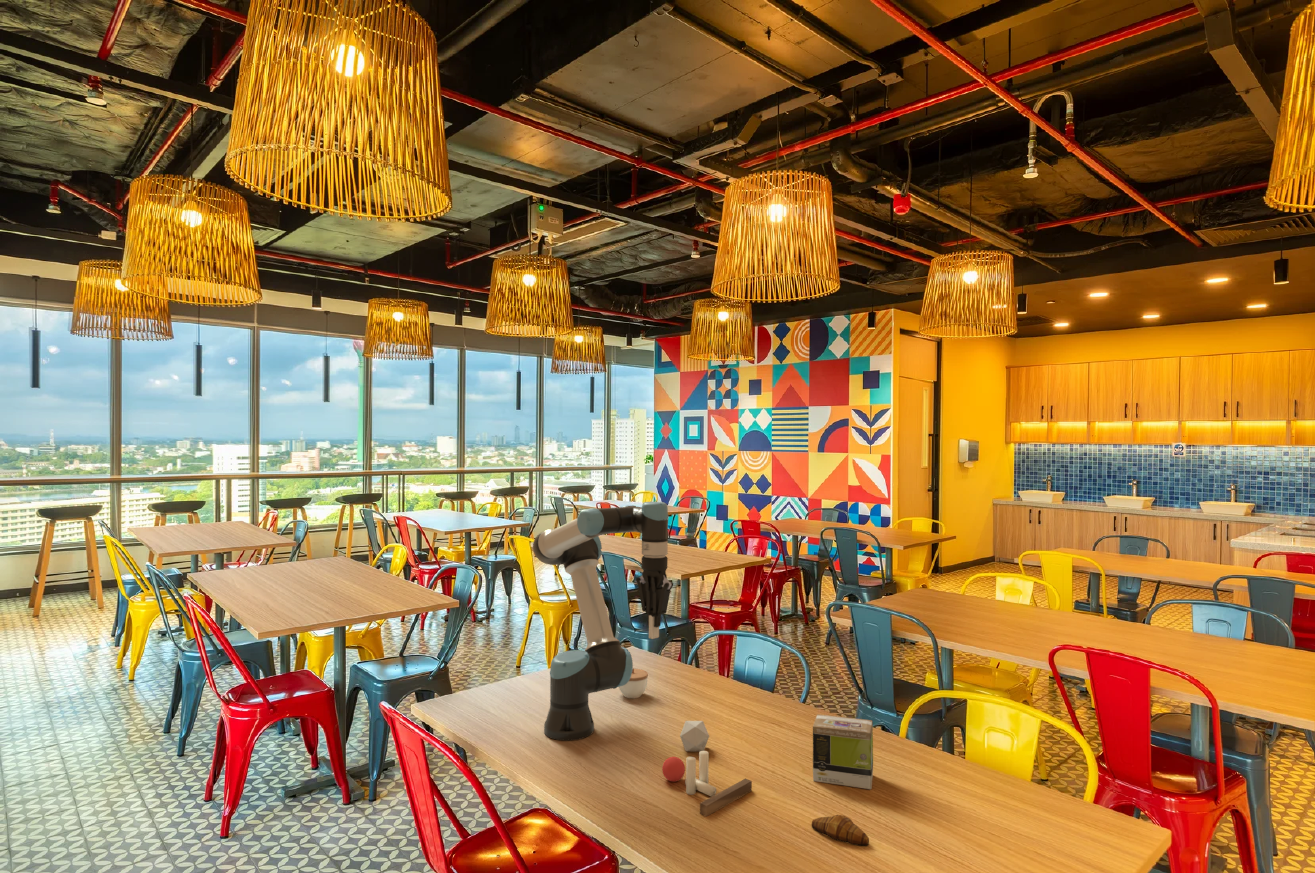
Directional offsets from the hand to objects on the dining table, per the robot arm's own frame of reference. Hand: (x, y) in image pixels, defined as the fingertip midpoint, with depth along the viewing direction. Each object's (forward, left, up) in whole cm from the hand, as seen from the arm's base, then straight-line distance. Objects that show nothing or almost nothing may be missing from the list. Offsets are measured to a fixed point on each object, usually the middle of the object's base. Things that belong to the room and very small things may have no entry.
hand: (653, 637), depth 211 cm
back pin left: (+24, -6, -32) cm, 41 cm away
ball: (+17, -10, -29) cm, 35 cm away
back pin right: (+24, -12, -32) cm, 42 cm away
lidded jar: (-37, +28, -33) cm, 57 cm away
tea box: (+48, +23, -33) cm, 62 cm away
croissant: (+62, -3, -33) cm, 70 cm away
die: (+8, +9, -33) cm, 35 cm away
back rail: (+34, -9, -32) cm, 48 cm away
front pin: (+21, -9, -31) cm, 39 cm away
